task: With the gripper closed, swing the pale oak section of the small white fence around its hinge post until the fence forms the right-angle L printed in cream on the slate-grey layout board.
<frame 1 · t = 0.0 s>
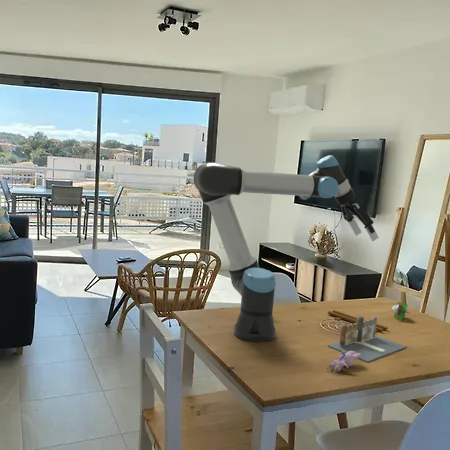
hand: (366, 236, 190), 36 cm above the table, tool tilted 35°, fingers open, 13 cm apart
decorative fence: (356, 324, 195), on the table
geometric puzzle: (399, 318, 206), on the table
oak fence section: (349, 333, 167), point 4 cm above the table, hinge at 0.0°
layout board: (367, 346, 167), on the table
rabbit figure: (344, 367, 149), on the table
white fence section: (357, 342, 171), resting on layout board
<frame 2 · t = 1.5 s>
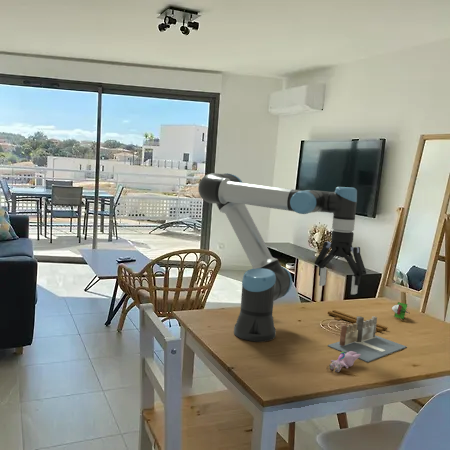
hand: (337, 289, 169), 19 cm above the table, tool pointing down, fingers open, 13 cm apart
nothing on the table moved.
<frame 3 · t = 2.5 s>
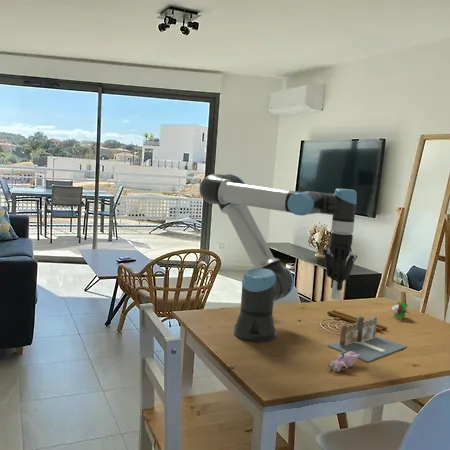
hand: (335, 298, 168), 16 cm above the table, tool pointing down, fingers closed
nothing on the table moved.
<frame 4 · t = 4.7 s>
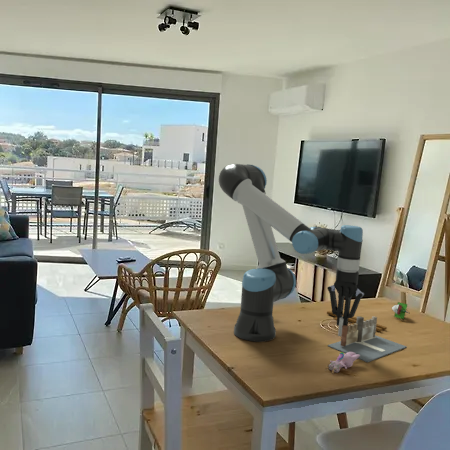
hand: (340, 335, 167), 4 cm above the table, tool pointing down, fingers closed
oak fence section: (349, 333, 166), point 5 cm above the table, hinge at 2.6°, touching gripper
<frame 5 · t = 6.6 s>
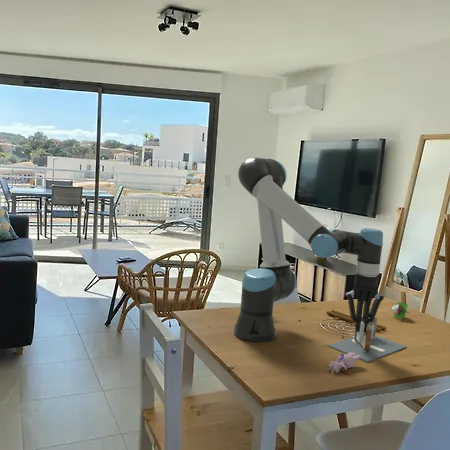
hand: (359, 340, 163), 3 cm above the table, tool pointing down, fingers closed
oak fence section: (364, 336, 165), point 5 cm above the table, hinge at 52.5°, touching gripper
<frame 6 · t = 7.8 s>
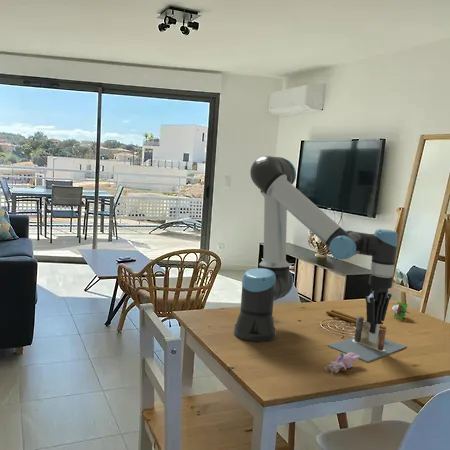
hand: (372, 341, 163), 3 cm above the table, tool pointing down, fingers closed
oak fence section: (372, 335, 166), point 5 cm above the table, hinge at 86.6°, touching gripper
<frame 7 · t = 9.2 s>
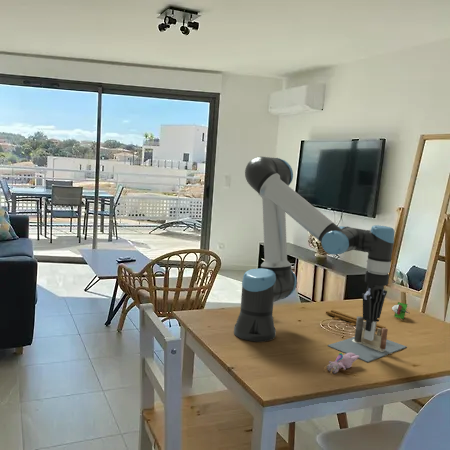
hand: (368, 339, 161), 5 cm above the table, tool pointing down, fingers closed
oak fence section: (374, 335, 166), point 5 cm above the table, hinge at 94.6°
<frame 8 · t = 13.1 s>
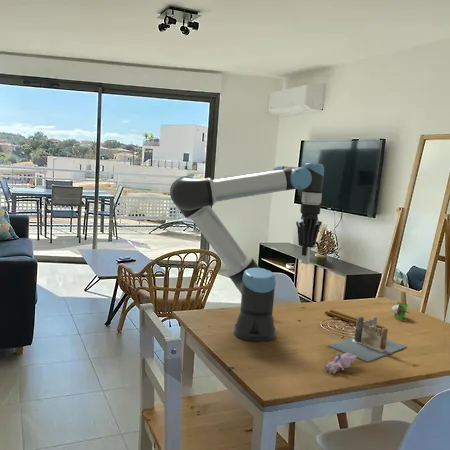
hand: (305, 263, 185), 24 cm above the table, tool pointing down, fingers closed
at the end: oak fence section at +95° (first picture: +0°); rabbit figure moved 2.6 cm from its start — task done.
